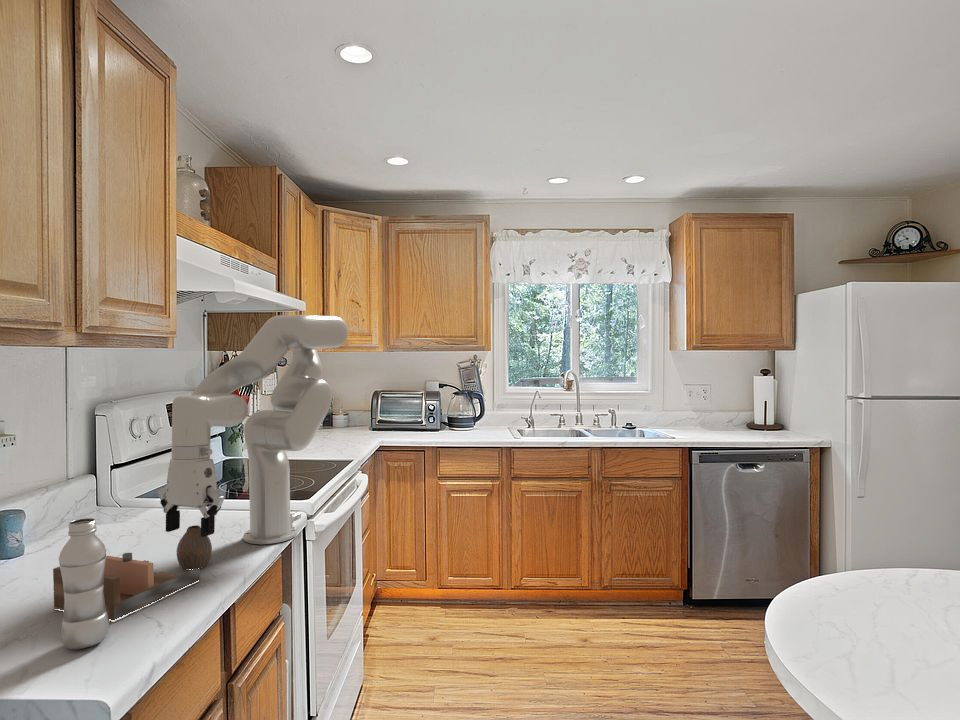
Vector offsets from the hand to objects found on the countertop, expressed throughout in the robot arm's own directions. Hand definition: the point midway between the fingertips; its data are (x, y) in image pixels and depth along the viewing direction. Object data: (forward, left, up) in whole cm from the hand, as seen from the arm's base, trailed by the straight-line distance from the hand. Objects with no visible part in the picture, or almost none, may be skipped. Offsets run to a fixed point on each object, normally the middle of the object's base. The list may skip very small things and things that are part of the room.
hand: (189, 532), depth 129 cm
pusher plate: (+14, 0, -8) cm, 16 cm away
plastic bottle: (+31, +10, -8) cm, 34 cm away
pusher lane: (+14, 0, -8) cm, 16 cm away
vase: (-1, 0, -8) cm, 8 cm away
